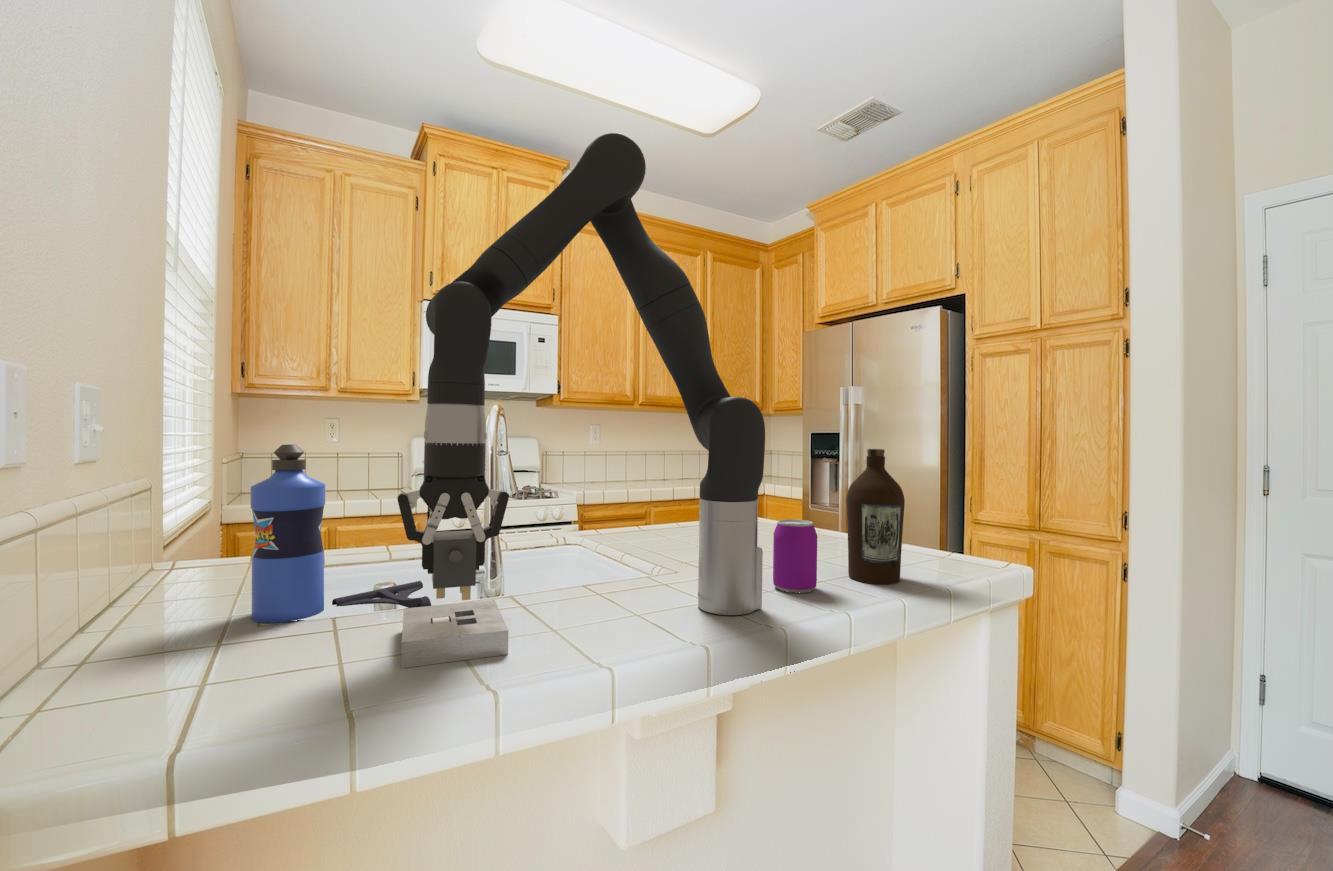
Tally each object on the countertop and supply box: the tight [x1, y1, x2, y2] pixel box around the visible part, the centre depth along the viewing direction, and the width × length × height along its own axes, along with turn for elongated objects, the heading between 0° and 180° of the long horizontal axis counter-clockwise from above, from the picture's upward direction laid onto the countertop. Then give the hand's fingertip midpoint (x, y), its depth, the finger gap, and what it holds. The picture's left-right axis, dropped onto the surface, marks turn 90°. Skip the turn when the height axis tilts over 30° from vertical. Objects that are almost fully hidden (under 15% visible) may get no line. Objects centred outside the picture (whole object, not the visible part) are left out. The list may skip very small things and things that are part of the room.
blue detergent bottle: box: [250, 444, 326, 624], centre depth 88 cm, size 9×9×25 cm
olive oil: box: [845, 448, 906, 585], centre depth 114 cm, size 11×11×25 cm
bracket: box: [331, 580, 432, 608], centre depth 94 cm, size 14×15×3 cm
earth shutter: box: [432, 617, 450, 624], centre depth 76 cm, size 2×2×1 cm
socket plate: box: [400, 599, 509, 669], centre depth 77 cm, size 12×14×3 cm
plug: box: [431, 529, 477, 601], centre depth 76 cm, size 5×8×8 cm, turn 23°
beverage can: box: [772, 518, 818, 594], centre depth 106 cm, size 8×8×12 cm
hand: (453, 570), depth 77 cm, fingers closed on plug, 5 cm apart
